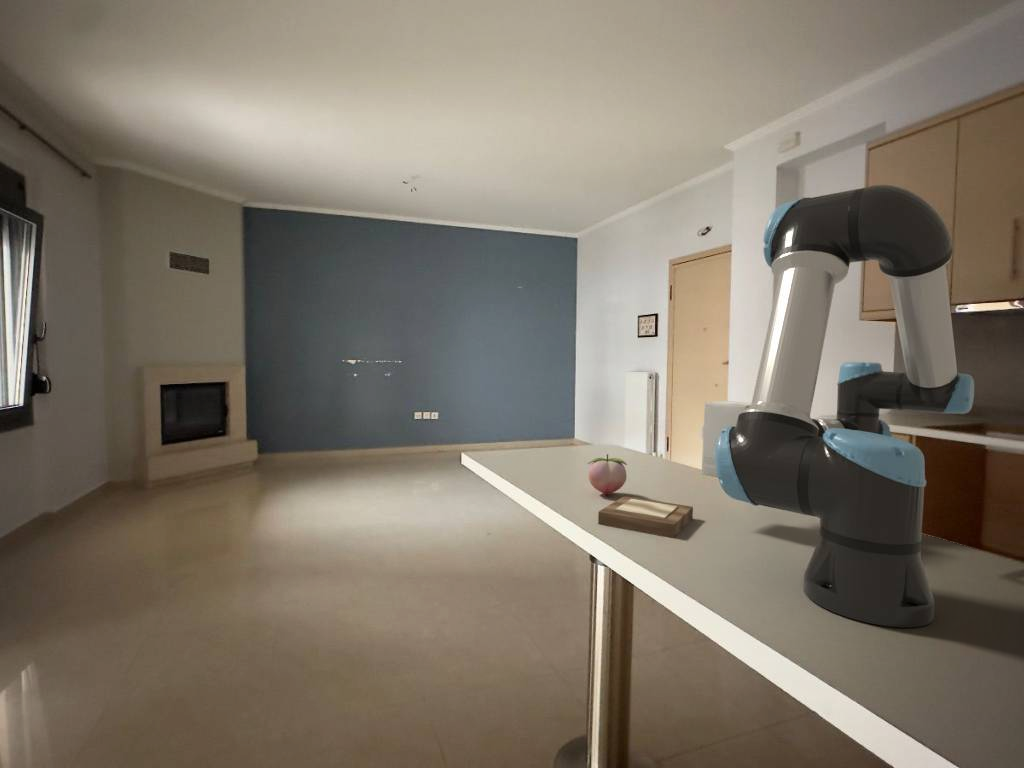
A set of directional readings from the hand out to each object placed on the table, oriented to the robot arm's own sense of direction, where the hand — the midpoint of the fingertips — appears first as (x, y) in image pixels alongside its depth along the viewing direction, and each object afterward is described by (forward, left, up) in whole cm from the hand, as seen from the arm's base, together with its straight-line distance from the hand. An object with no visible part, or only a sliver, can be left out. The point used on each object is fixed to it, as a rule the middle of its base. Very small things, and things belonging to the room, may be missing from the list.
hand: (716, 436), depth 110 cm
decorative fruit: (+10, +27, -18) cm, 34 cm away
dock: (-6, +12, -18) cm, 22 cm away
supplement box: (+2, -3, -8) cm, 9 cm away
